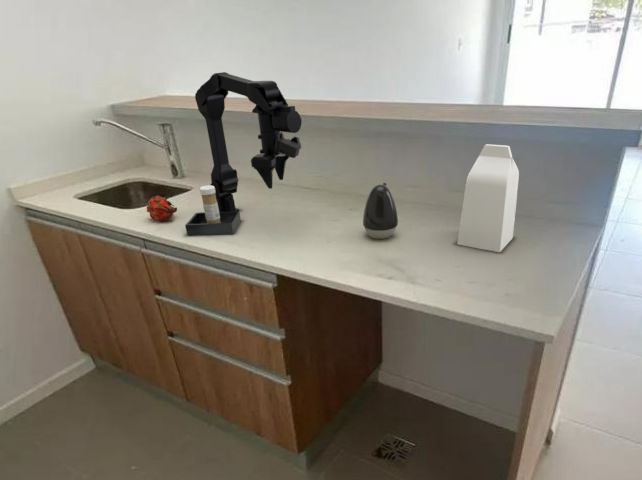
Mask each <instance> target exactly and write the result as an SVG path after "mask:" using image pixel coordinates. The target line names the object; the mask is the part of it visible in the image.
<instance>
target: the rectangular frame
mask: <svg viewBox="0 0 642 480" xmlns="http://www.w3.org/2000/svg"><path fill="white" fill-rule="evenodd" d="M219 214H220V221H221V223H208V224H207V220H206V216H205V211H204V212H203V211H202V212H195V213H194V214H193V215H192V217H191V218H190V219H189V220H188V221H187V222H186V223H185V224H184V226H185V230H186V235H187V236H188V237H190V236H191V237H192V236H193V237H194V236H216V235H217V236H218V235H221V236H222V235H234V233H235V232H236V230H237V229H238V227H239V225H240V224H241V221H242V219H241V213H240V210H239V211H229V212H219Z"/></svg>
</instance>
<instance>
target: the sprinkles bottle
mask: <svg viewBox="0 0 642 480" xmlns="http://www.w3.org/2000/svg"><path fill="white" fill-rule="evenodd" d="M199 193H200V195H201V199H202V205H203V211H204V212H205V216H206V220H207V223H206V224H208V223H221V221H220V214H219V209H218V204H217V200H216V195H215V187H214V186H211V184H208V185H203V186H201V187H199Z"/></svg>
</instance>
